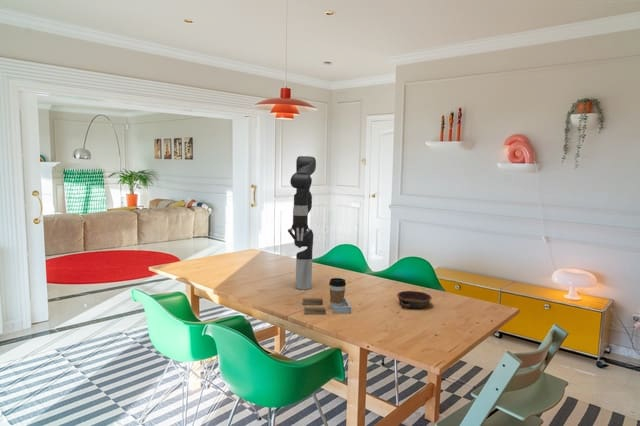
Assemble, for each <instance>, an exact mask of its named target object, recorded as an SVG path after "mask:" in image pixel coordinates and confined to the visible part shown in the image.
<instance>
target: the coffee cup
mask: <svg viewBox="0 0 640 426" xmlns="http://www.w3.org/2000/svg"><path fill="white" fill-rule="evenodd" d="M328 285H329V302H330V301H331V304H330V310H332V311H333V307H344V304H343V301H344V298H345V293H346V286H347V282H346V279H344V278H341V277H333V278H330V279H329V283H328Z"/></svg>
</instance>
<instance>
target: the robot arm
mask: <svg viewBox="0 0 640 426" xmlns="http://www.w3.org/2000/svg"><path fill="white" fill-rule="evenodd" d="M295 164H296V167H295V170H296V171H295V173H293V174H292V176H291V177H290V179H289V180H290V181H289V183H290V185H291V187H292V188H293V189H296V191H295V193H294V195H293V208H292V225H291V227H290V228H288V229H287V232H288V233H289V235H290V236H291V238H292V239H293V243H294V246H295V247H297V248H299V249H302V247H303V248H304V247H306V248H305V249H304V250H301V251H299V252H296V254H295V256H296V258H295V288H296V289H298V290H310V289H312V288H313V287H312V281H313V250H314V249H313V245H314V232H313V229H311V228H309V225H308V224H309V223H308V222H309V221H308V220H309V219H308V218H309V214H310V212H311V210H312V207H313V195H312V193H311V191H310V189H311V185H312V183H313V179H312V177H311V176H312V175H313V174H314V173H315V171H316V169H317V160H316V158H315V157H314V156H303V155H299V156H297V158H296V162H295ZM293 232H294V233H293Z"/></svg>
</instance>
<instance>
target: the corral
mask: <svg viewBox="0 0 640 426" xmlns="http://www.w3.org/2000/svg"><path fill="white" fill-rule="evenodd" d="M329 304H330V305H331V301H330V300H329ZM351 313H352V306H351V304H350V302H349V299H348V298H347V297H344V301H343V307H333V310H332V314H351Z"/></svg>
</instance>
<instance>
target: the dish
mask: <svg viewBox="0 0 640 426" xmlns="http://www.w3.org/2000/svg"><path fill="white" fill-rule="evenodd" d="M396 296H397V298H398V301H399V303H400V306H401V308H411V309H422V308H427V307H428V306H429V304H430V301H431V300H432V295H430V294H428V293H426V292H423V291H413V290H405V291H400V292H398V293H397V294H396Z"/></svg>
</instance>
